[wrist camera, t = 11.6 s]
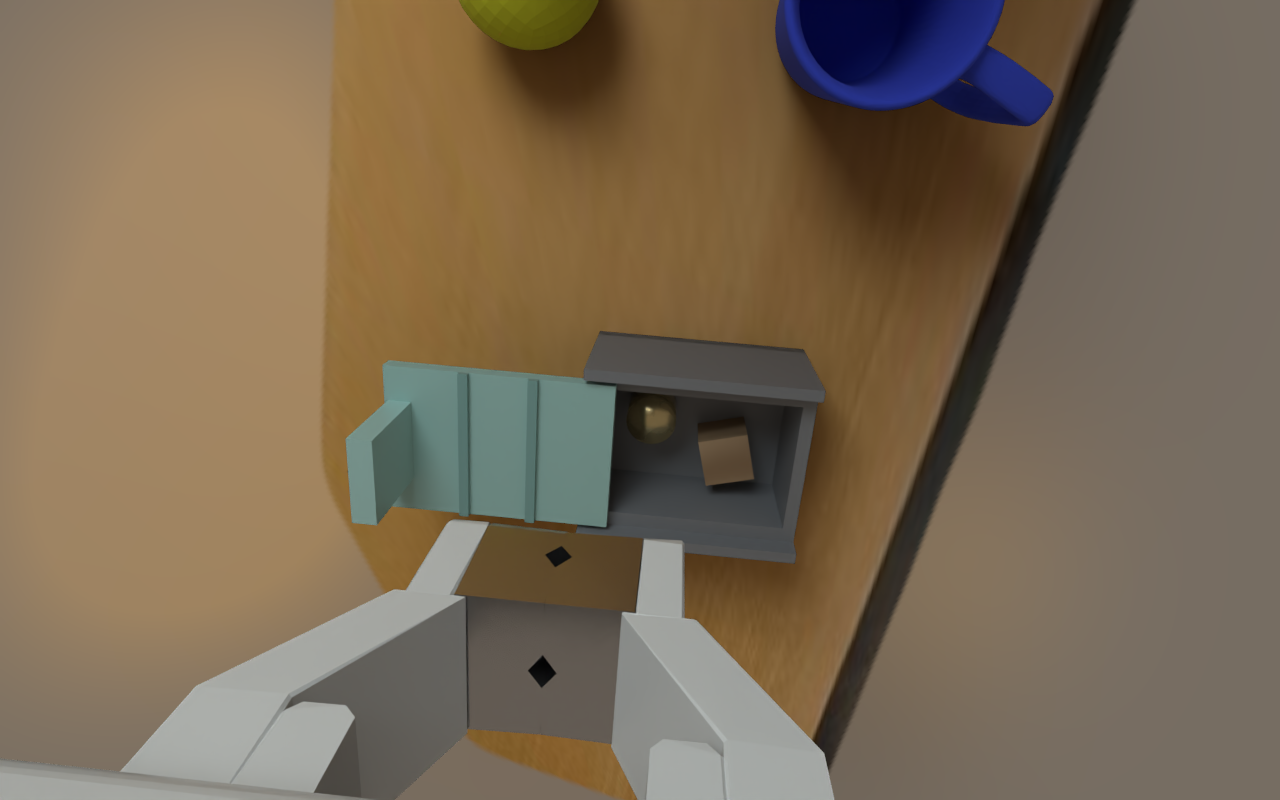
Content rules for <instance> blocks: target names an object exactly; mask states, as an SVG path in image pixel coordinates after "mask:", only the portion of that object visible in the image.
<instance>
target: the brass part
mask: <svg viewBox="0 0 1280 800" xmlns="http://www.w3.org/2000/svg"><path fill="white" fill-rule="evenodd" d="M626 423H627V427H628V430H629V432H630V433H631V435H632V436H633V437H634V438H635V439H637V440H638V441H640V442H643V443H646V444H657V443H660V442H663V441H665V440H666V439H668V438H669V437H670V436H671V434H672V433H673V431H674V429H675V425H676V398H675V396H674V395H663V394H653V393H642V392H633V393H632V395H631V398H630V403H629V408H628V413H627V418H626Z"/></svg>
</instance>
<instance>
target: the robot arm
mask: <svg viewBox="0 0 1280 800" xmlns="http://www.w3.org/2000/svg"><path fill="white" fill-rule="evenodd" d="M642 546H643V550H642ZM641 559H642V561H641ZM467 729H476V730H489V731H503V732H516V733H529V734H541V735H548V736H556V737H563V738H571V739H578V740H586V741H593V742H601V743H608V744H612V746H611V748H612V750H613V752H614V754H615V755H616V757H617V759H618V761H619V763H620V765H621V767H622V769H623V771H624V773H625V775H626V777H627V779H628V781H629V783H630V785H631V787H632V789H633V791H634V793H635V795H636V797H637V799H638V800H834V795H833V791H832V787H831V782H830V777H829V773H828V768H827V764H826V759H825V755H824V753H823V752H822V751H821V749H820V748H819V747H818V746H817V745H816V744H815V743H814V742H813V741H812V740H811V739H810V738H809V737H808V736H807V735H806V734H805V733H804V732H803V731H802V730H801V729H800V728H799V727H798V726H797V724H796V723H795V722H794V721H793V720H792V719H791V718H790V717H789V716H788V715H787V714H786V713H785V712H784V711H783V710H782V709H781V708H780V707H779V706H778V705H777V704H776V703H775V702H774V700H773V699H772V698H771V697H770V696H769V695H768V694H767V693H766V692H765V691H764V690H763V689H762V688H761V687H760V686H759V685H758V684H757V683H756V682H755V681H754V680H753V679H752V678H751V676H750V675H749V674H748V673H747V672H746V671H745V670H744V669H743V668H742V667H741V666H740V665H739V664H738V663H737V662H736V661H735V660H734V659H733V658H732V657H731V656H730V655H729V654H728V653H727V651H726V650H725V649H724V648H723V647H722V646H721V645H720V644H719V643H718V642H717V641H716V640H715V639H714V638H713V637H712V636H711V635H710V634H709V633H708V632H707V631H706V630H705V629H704V627H703V626H702V625H701V624H700V623H699V622H698V621H697V620H695V619H685V618H684V543H683V541H682V540H665V539H647V538H644V544H643V538H635V537H621V536H607V535H593V534H579V533H568V532H565V531H557V530H548V529H539V528H531V527H522V526H514V525H505V524H497V523H492V524H490V523H489V522H482V521H469V520H456V519H454V520H451V521H449V522H448V523H447V524H446V526H445V527H444V529H443V530H442V532H441V534H440V535H439V537H438V539H437V540H436V542H435V544H434V545H433V547H432V548H431V550H430V552H429V553H428V555H427V557H426V558H425V560H424V561H423V563H422V565H421V566H420V568H419V570H418V571H417V573H416V574H415V576H414V578H413V579H412V581H411V583H410V584H409V586H408V587H407V589H406V591H405V590H392V591H390V592H388V593H386V594H384V595H382V596H379V597H377V598H375V599H373V600H371V601H369V602H367V603H365V604H363V605H361V606H359V607H357V608H355V609H353V610H351V611H349V612H347V613H345V614H343V615H341V616H339V617H337V618H334V619H332V620H330V621H329V622H326V623H324V624H322V625H320V626H318V627H316V628H314V629H312V630H310V631H308V632H306V633H304V634H302V635H300V636H298V637H296V638H294V639H292V640H289V641H287V642H285V643H283V644H281V645H279V646H277V647H275V648H273V649H271V650H269V651H267V652H265V653H263V654H261V655H259V656H257V657H255V658H253V659H251V660H249V661H246V662H244V663H243V664H240V665H238V666H236V667H234V668H232V669H230V670H228V671H226V672H224V673H222V674H220V675H218V676H216V677H214V678H212V679H210V680H208V681H206V682H204V683H202V684H199V685H197V686H196V687H195V688H194V689H193V690H192V691H191V692H190V694H189V695H188V696H187V697H186V698H185V699H184V700H183V701H182V703H181V704H180V705H179V706H178V707H177V708H176V709H175V711H174V712H173V713H172V714H171V715H170V716H169V717H168V718H167V719H166V721H165V722H164V723H163V724H162V725H161V726H160V727H159V728H158V730H157V731H156V732H155V733H154V734H153V735H152V737H151V738H150V739H149V740H148V741H147V742H146V743H145V744H144V746H143V747H142V748H141V749H140V750H139V751H138V752H137V753H136V754H135V756H134V757H133V758H132V759H131V760H130V761H129V762H128V763H127V765H126V766H125V767H124V768H123V769H122V770H121V771H120V772H118V771H109V770H101V769H92V768H82V767H73V766H64V765H55V764H45V763H37V762H27V761H18V760H9V759H0V800H395V799H396V798H397V797H398V796H399V795H400V794H401V793H403V792H404V791H405V790H406V789H407V788H408V787H409V786H410V785H411V784H412V783H413V782H414V781H416V780H417V778H419V777H420V776H421V775H422V774H423V773H424V772H425V771H426V770H428V769H429V768H430V767H431V766H432V765H433V764H434V763H435V762H436V761H437V760H438V759H439V758H441V757H442V756H443V755H444V754H445V753H446V752H447V751H448V750H449V749H450V748H452V747H453V746H454V745H455V744H456V743H457V742H458V741H459V740H460V739H461V738H462V737H463V736H465V735H466V734H467Z"/></svg>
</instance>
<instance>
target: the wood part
mask: <svg viewBox="0 0 1280 800" xmlns="http://www.w3.org/2000/svg"><path fill="white" fill-rule="evenodd" d="M698 444H699V450H700V455H701V461H702V467H703V473H704V478H705V484H706V486H708V485H715V484H723V483H730V482H737V481H744V480H751V479H754V476H753V469H752V463H751V456H750V449H749V442H748V435H747V430H746V425H745V420H744V417H738V418H731V419H724V420H717V421H711V422H704V423H698Z"/></svg>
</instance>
